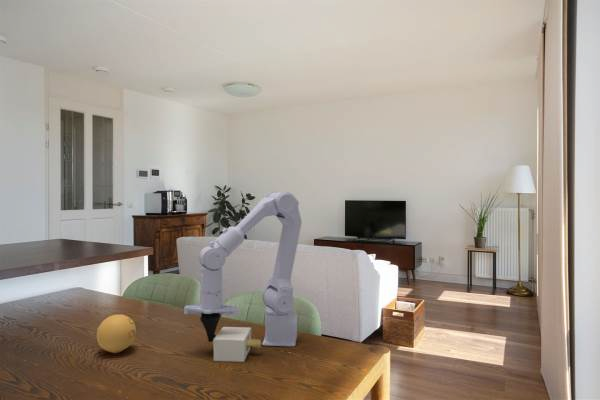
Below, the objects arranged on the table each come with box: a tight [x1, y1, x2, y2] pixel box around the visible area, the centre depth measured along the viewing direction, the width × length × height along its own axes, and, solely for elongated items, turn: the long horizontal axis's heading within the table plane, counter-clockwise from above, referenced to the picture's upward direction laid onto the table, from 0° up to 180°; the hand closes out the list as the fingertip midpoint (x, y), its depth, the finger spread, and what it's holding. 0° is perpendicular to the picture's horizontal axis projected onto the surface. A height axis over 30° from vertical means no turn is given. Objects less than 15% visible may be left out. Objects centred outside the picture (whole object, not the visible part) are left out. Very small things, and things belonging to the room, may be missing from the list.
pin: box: [211, 333, 262, 351], centre depth 110 cm, size 13×4×4 cm, turn 87°
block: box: [213, 326, 252, 363], centre depth 110 cm, size 8×10×6 cm
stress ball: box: [96, 313, 137, 354], centre depth 111 cm, size 10×10×10 cm
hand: (211, 340), depth 111 cm, fingers closed
